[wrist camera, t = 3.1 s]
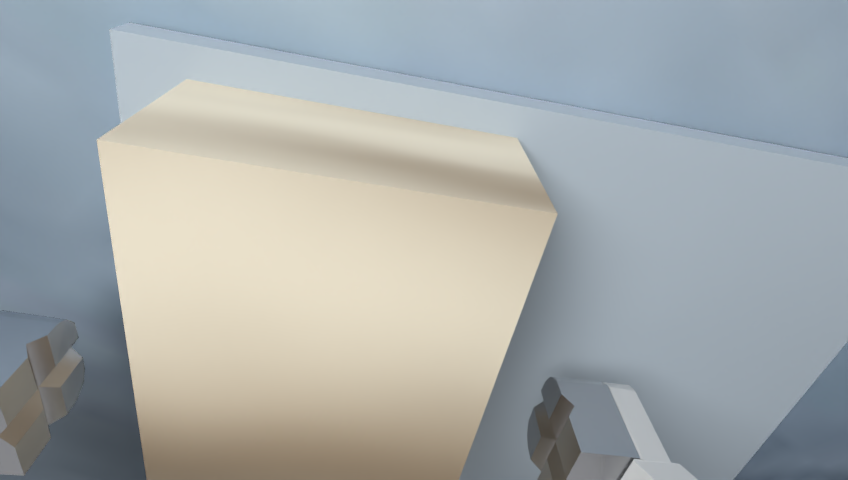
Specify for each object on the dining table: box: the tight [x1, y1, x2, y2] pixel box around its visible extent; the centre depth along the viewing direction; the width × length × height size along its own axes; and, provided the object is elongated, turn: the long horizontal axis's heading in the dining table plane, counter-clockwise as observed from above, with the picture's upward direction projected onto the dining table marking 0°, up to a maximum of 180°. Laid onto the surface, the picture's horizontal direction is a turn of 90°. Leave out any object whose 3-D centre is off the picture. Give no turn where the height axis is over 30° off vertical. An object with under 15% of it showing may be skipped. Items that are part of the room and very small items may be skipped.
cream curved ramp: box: [97, 79, 558, 480], centre depth 9 cm, size 9×5×3 cm, turn 169°
